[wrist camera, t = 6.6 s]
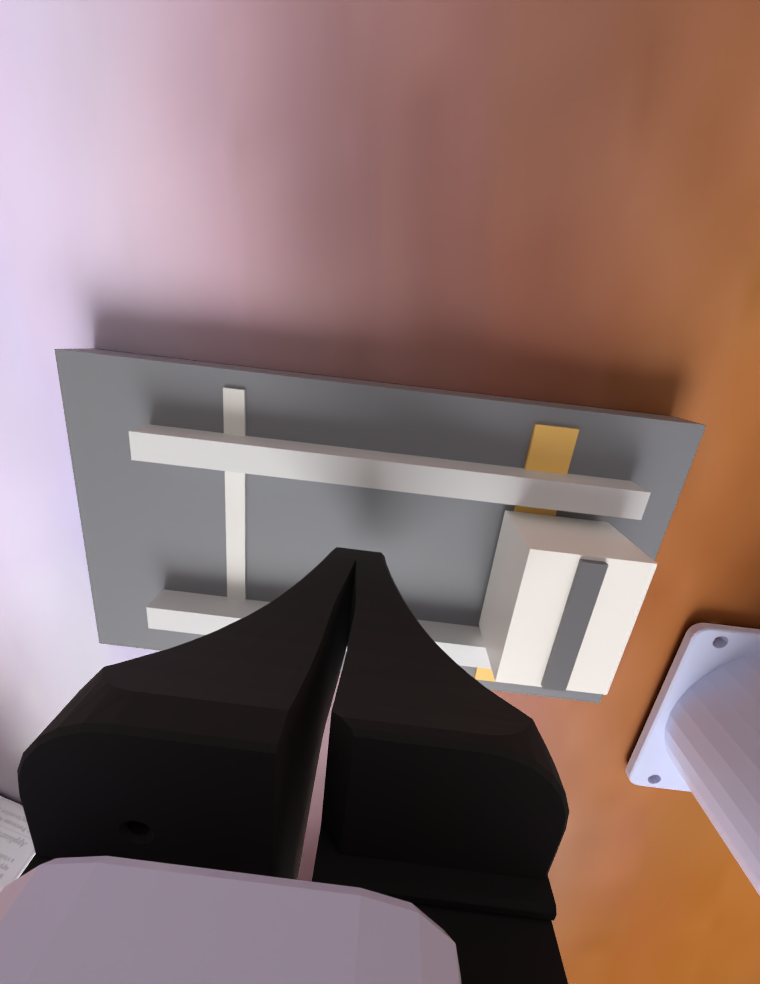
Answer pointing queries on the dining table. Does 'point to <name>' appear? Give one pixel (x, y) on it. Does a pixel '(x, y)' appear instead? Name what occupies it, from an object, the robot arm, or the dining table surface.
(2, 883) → the skincare box
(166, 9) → the dining table surface
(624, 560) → the fader tab
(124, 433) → the board
